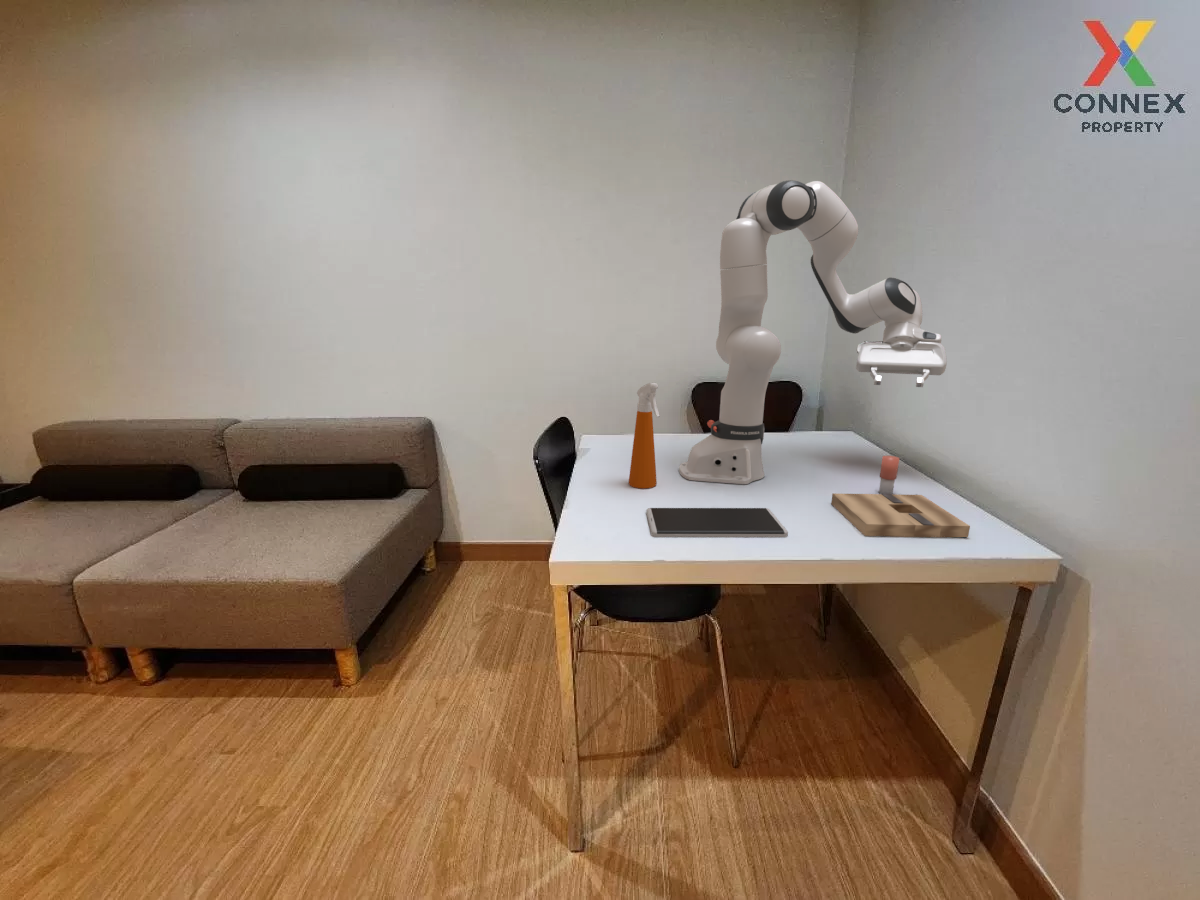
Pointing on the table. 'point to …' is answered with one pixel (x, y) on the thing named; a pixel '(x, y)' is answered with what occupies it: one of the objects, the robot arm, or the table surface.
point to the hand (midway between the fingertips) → (898, 384)
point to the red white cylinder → (888, 474)
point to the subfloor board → (898, 516)
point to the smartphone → (714, 522)
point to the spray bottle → (644, 440)
